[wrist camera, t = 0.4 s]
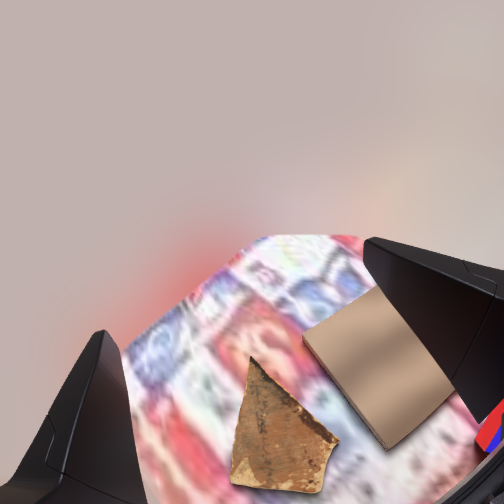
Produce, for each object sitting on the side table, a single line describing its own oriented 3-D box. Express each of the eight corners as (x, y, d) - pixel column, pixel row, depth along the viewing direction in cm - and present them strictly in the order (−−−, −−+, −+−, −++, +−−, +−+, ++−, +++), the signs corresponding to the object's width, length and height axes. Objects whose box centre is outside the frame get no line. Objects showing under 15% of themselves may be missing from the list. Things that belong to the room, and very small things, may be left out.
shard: (253, 362, 25) (249, 353, 23) (343, 365, 23) (344, 357, 21) (230, 483, 17) (223, 483, 16) (332, 492, 15) (334, 494, 14)
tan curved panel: (471, 370, 18) (477, 364, 18) (386, 450, 16) (389, 448, 15) (387, 284, 27) (389, 276, 26) (302, 340, 25) (301, 333, 24)
